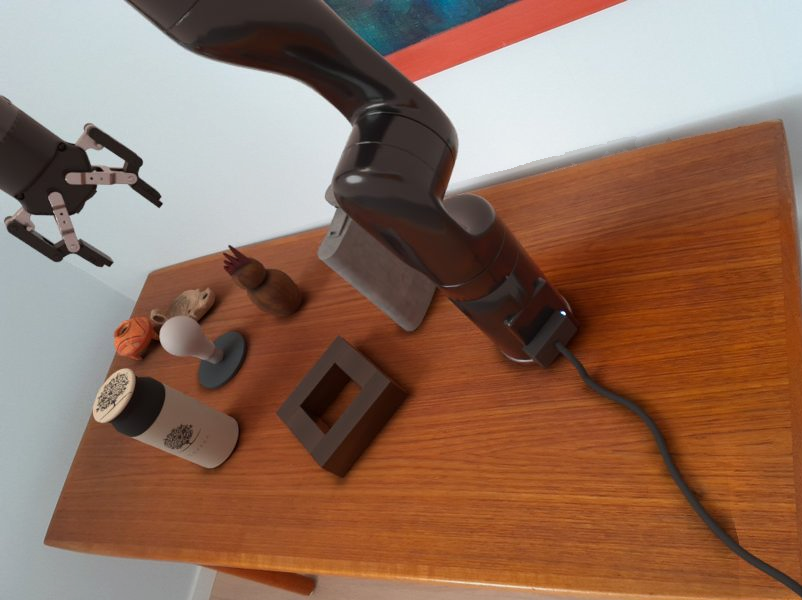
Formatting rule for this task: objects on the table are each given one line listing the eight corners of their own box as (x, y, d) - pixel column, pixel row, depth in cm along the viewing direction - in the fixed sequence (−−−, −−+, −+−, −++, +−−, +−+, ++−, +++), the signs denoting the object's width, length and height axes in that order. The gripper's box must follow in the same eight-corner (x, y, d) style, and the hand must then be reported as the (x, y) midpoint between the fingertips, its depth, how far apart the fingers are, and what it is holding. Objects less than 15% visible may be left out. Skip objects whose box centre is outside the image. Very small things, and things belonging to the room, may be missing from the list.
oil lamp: (224, 287, 117) (202, 272, 113) (217, 322, 113) (194, 307, 109) (174, 310, 123) (151, 296, 119) (165, 344, 118) (141, 331, 115)
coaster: (255, 349, 104) (252, 348, 103) (214, 400, 103) (211, 398, 103) (232, 323, 110) (229, 322, 110) (193, 370, 110) (190, 369, 109)
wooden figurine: (311, 285, 104) (240, 229, 93) (304, 316, 101) (230, 263, 90) (280, 294, 107) (208, 242, 96) (272, 325, 104) (197, 274, 93)
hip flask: (430, 233, 95) (343, 138, 80) (454, 230, 92) (368, 131, 78) (400, 331, 89) (299, 248, 74) (424, 330, 86) (325, 244, 72)
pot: (125, 353, 124) (99, 330, 119) (161, 327, 125) (136, 303, 121) (134, 374, 118) (107, 350, 113) (171, 346, 119) (146, 322, 115)
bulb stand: (409, 394, 83) (390, 381, 80) (342, 478, 82) (320, 468, 79) (356, 348, 92) (338, 334, 89) (295, 423, 91) (275, 412, 88)
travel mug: (198, 436, 101) (91, 389, 88) (236, 407, 99) (133, 354, 86) (203, 479, 96) (90, 435, 82) (243, 449, 94) (134, 399, 81)
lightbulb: (240, 342, 106) (185, 308, 98) (225, 377, 103) (167, 345, 95) (217, 341, 109) (162, 308, 101) (202, 375, 107) (144, 344, 99)
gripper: (-59, 204, 60) (102, 294, 72) (44, 84, 61) (186, 193, 72) (-64, 182, 65) (87, 270, 77) (31, 72, 66) (166, 176, 78)
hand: (135, 233), depth 75 cm, fingers open, 8 cm apart
